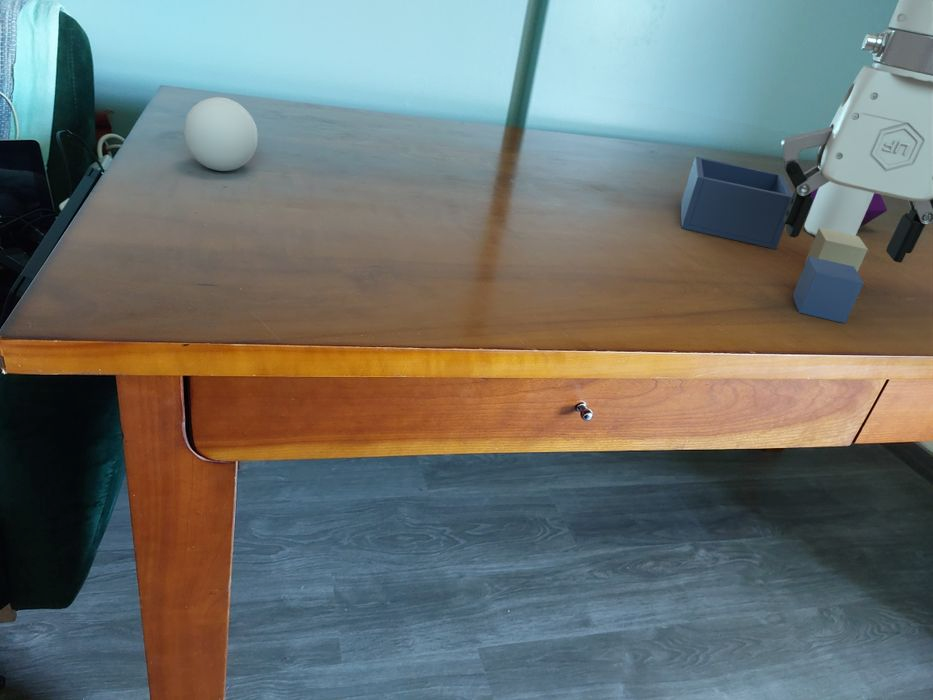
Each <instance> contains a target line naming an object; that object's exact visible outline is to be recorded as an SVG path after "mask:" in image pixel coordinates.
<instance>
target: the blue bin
mask: <svg viewBox="0 0 933 700" xmlns="http://www.w3.org/2000/svg"><path fill="white" fill-rule="evenodd" d="M793 193H794V191H792V188H791V187H790V185H789V183H788V180H786V178H785V176H784V174H781V173H778V172H777V173H776V172H772V171H768V170H762V169H757V168H753V167H747V166H743V165H738V164H733V163H729V162H724V161H719V160H716V159H715V160H714V159H710V158H705V157H700V156H694V159H693V163H692V166H691V170H690V173H689V175H688V180H687V183H686V186H685V189H684V192H683V196H682V199H681V202H680V207H681V208H680V213H681V214H680V216H681V219H680V220H681V229H683V230H688V231H692V232H697V233H701V234H705V235H709V236H713V237H714V236H715V237H718V238H723V239H728V240H733V241H736V242H741V243H745V244H750V245H754V244H755V245H754V246H759V247H762V248H767V247H768V248H769V249H772V250H777V248H778V245H779V243H780V240H781V237H782V235H783V232H784V229H785V228H786V224H784V223H783V220H784V216H785V213H786V211H787V208H788V206H789V203H790V201H791V198H792V196H793Z"/></svg>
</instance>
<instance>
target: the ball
mask: <svg viewBox="0 0 933 700" xmlns="http://www.w3.org/2000/svg"><path fill="white" fill-rule="evenodd" d="M182 134H183V139H184V144H185V146H186V147H187V150H188V152H189V153H190V154H191V156H192V157H193V158H194V159H195V161H197V162H198V163H199V164H201V165H203V166H204V167H206V168H208V169H211V170H214V171H218V172H228V171H233V170H238V169H239V168H241V167H242V166H245V165H247V163H248V162H249V161H250V160H251V158H253V156H254V154H255V153H256V150H257V148H258V147H257V146H258V141H259V136H258V127H257V125H256V123H255V119H254V118H253V117H252V115H251V114H250V112H249V111H248V110H247V109H246V108H245V107H243V106H242V105H241V104H240V103H239V102H237V101H235V100H232V99H230V98H227V97H221V96H213V97H209V98H206V99H202V100H201V101H199V102H197V103H196V104H194V105H193V106H192V108H190V110H189V111H188V113H187V115H186V116H185V120H184V122H183V131H182Z"/></svg>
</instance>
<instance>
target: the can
mask: <svg viewBox="0 0 933 700" xmlns="http://www.w3.org/2000/svg"><path fill="white" fill-rule="evenodd" d="M873 195H874V193H872V192H868V191H863V190H859V189H855V188H850V187H846V186H842V185H838V184H835V183H833V182H831V181H829V182H828V183H826V184H824V185H823V186H821V187H819V189H818V191H817V194H816V196H815V199H814V201H813V202H812V204H811V207H810V209H809V212H808V214H807V216H806V219H805V221H804V224H803V226H804V230H805V231H806V233H808V234H810V235H811V236H813V237H815V236H816V234H817V232H818V229H819V228H822V229H826V230H831V231H836V232H840V233H845V234H849V235H854V236H857V234H858V231H859V229H860V228H861V227H860V225H861V222H862V220H863V218H864V216H865V213H866V211H867V209H868V206H869V204H870V202H871V200H872V197H873ZM859 227H860V228H859Z"/></svg>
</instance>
